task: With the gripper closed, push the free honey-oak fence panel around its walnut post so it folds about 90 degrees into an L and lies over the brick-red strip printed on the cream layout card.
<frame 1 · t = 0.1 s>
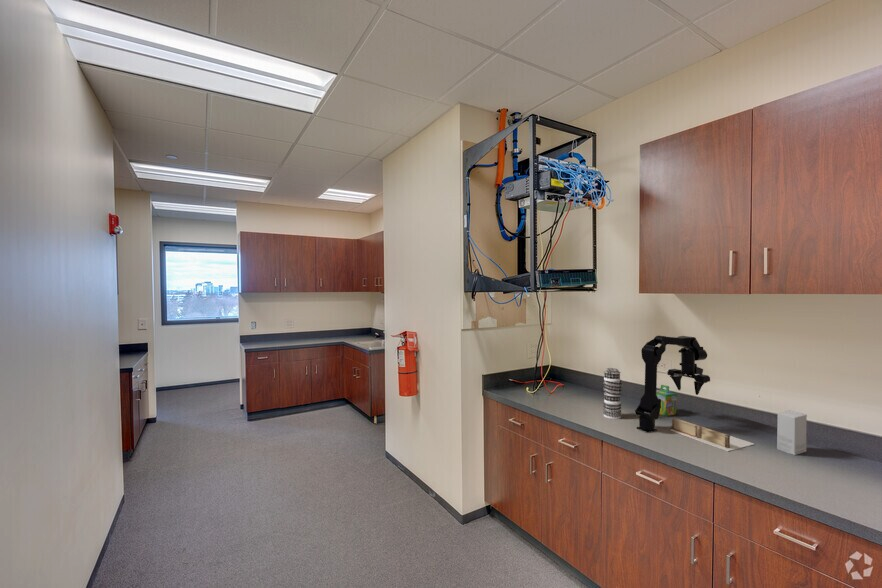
hand: (688, 392, 196), 15 cm above the worktop, fingers open, 9 cm apart
fence post and layout card: (699, 438, 175), on the worktop
folding fence panel: (715, 437, 168), point 3 cm above the worktop, hinge at 0.0°
chalk box: (663, 413, 210), on the worktop
skincare box: (792, 451, 160), on the worktop
decorative candle: (612, 416, 205), on the worktop
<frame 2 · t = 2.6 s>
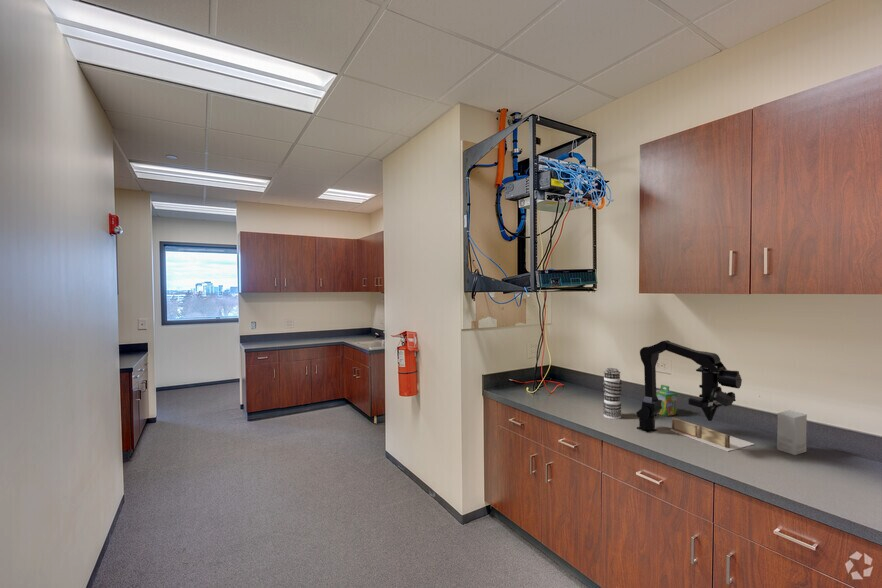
hand: (709, 420, 164), 12 cm above the worktop, fingers closed
nothing on the worktop moved.
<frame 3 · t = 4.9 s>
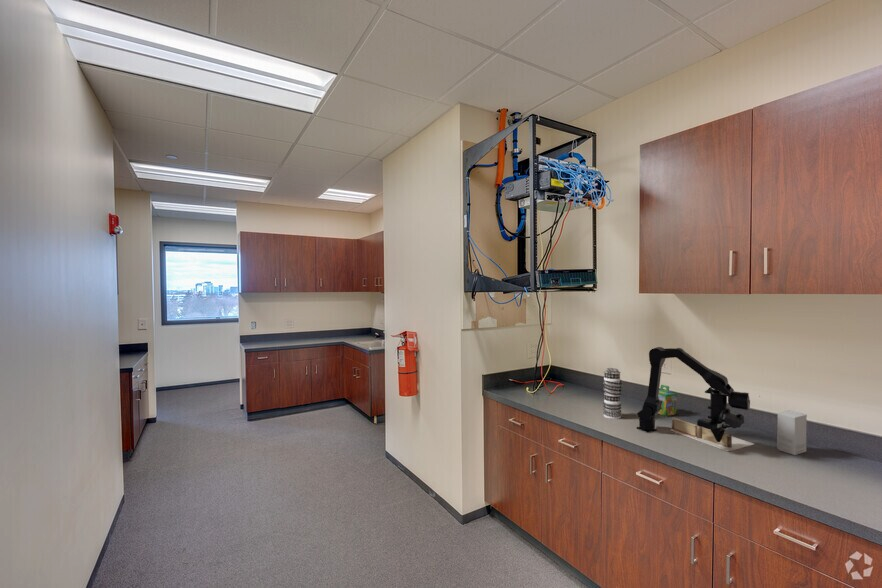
hand: (718, 441, 165), 2 cm above the worktop, fingers closed
folding fence panel: (716, 437, 168), point 3 cm above the worktop, hinge at 7.4°, touching gripper
everything else where it was.
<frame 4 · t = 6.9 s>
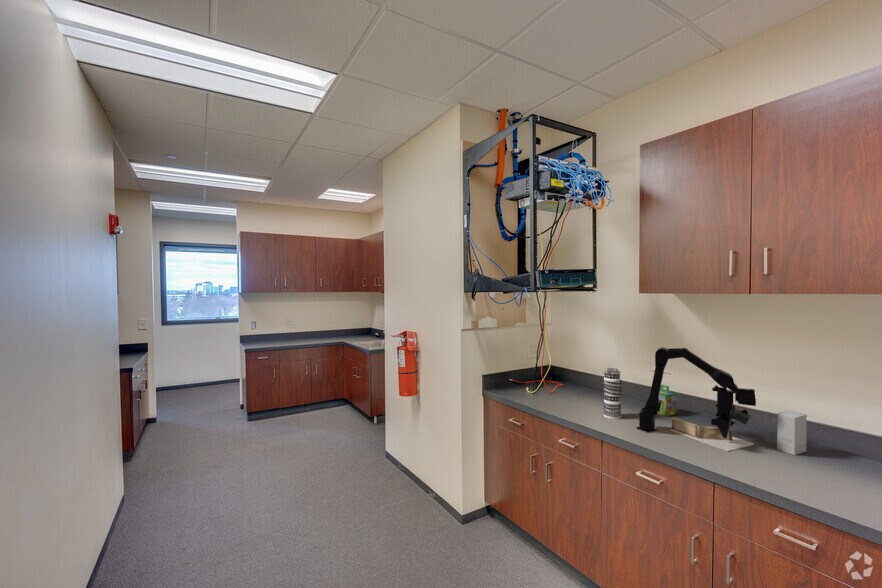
hand: (724, 438, 169), 2 cm above the worktop, fingers closed
folding fence panel: (717, 433, 173), point 3 cm above the worktop, hinge at 52.9°, touching gripper
everything else where it was.
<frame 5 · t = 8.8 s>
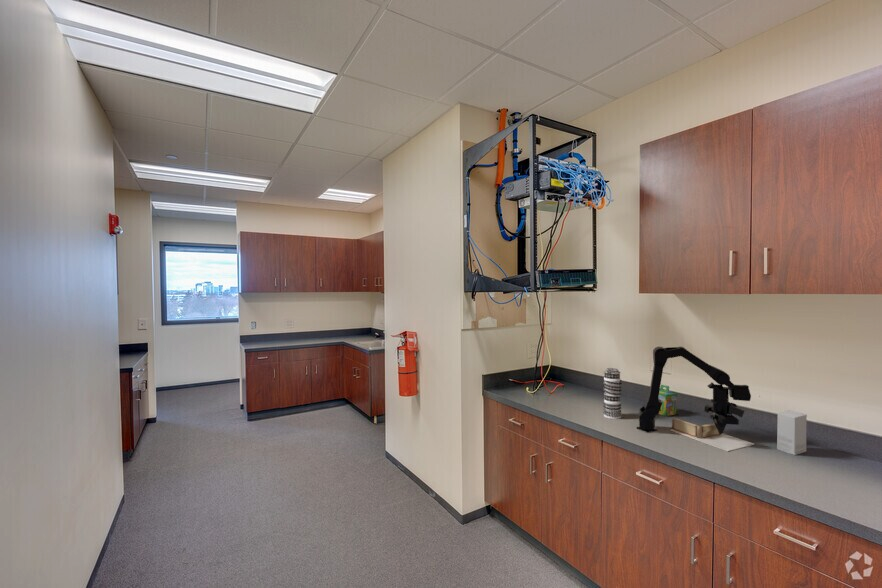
hand: (720, 433, 174), 2 cm above the worktop, fingers closed
folding fence panel: (710, 429, 177), point 3 cm above the worktop, hinge at 86.7°, touching gripper
everything else where it was.
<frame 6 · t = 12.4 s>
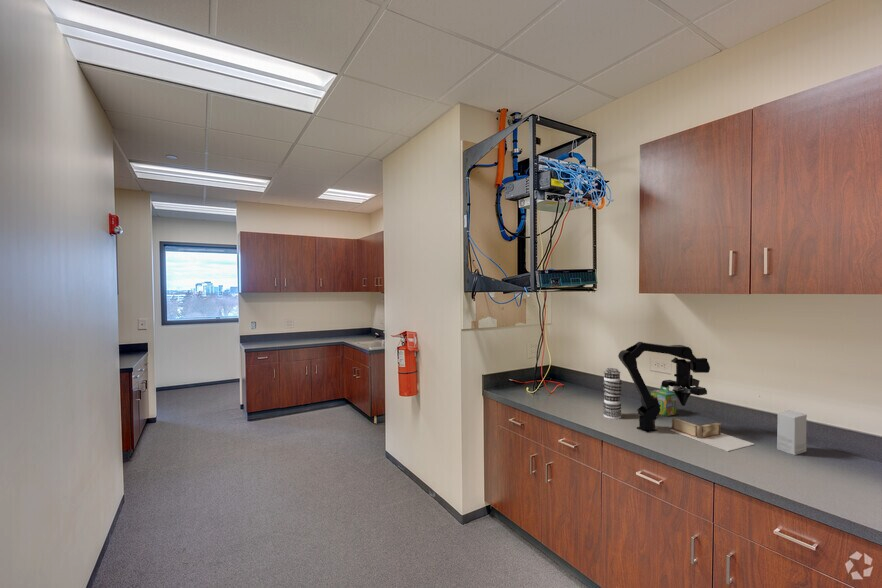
hand: (683, 405, 183), 12 cm above the worktop, fingers closed
folding fence panel: (710, 429, 177), point 3 cm above the worktop, hinge at 86.8°
everything else where it was.
at the end: folding fence panel at +87° (first picture: +0°); chalk box moved 0.3 cm from its start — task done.
